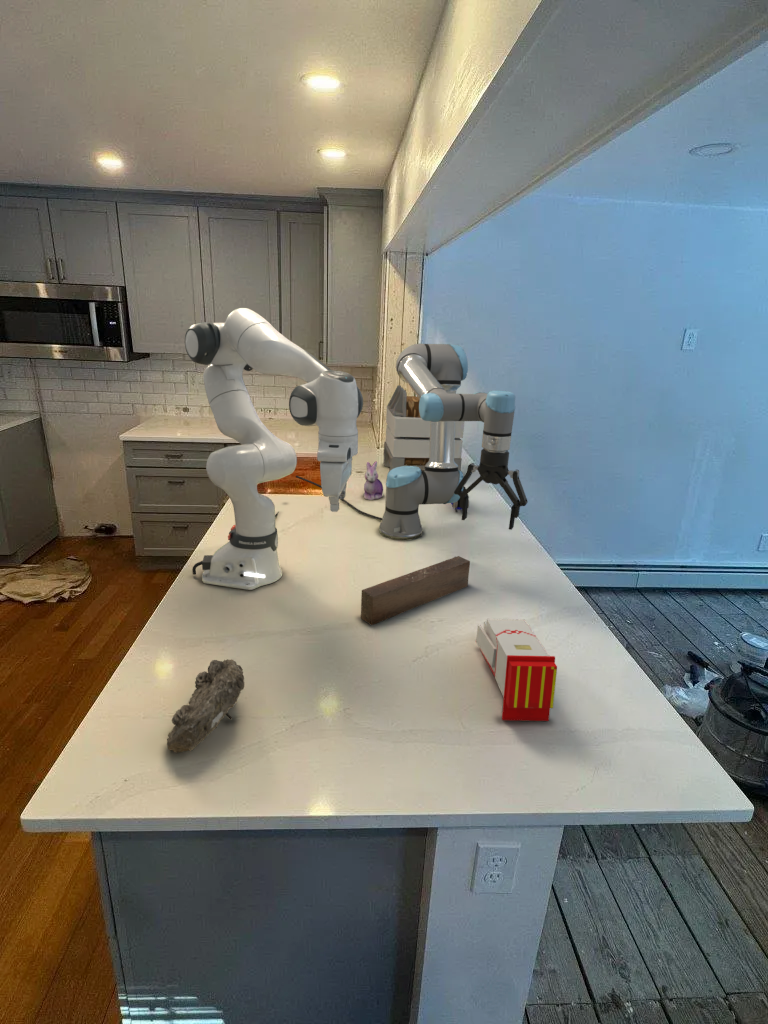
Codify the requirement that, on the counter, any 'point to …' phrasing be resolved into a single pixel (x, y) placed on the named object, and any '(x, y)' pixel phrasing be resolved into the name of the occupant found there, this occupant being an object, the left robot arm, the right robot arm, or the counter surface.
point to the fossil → (206, 705)
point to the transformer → (411, 433)
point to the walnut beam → (413, 589)
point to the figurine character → (458, 503)
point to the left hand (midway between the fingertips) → (338, 504)
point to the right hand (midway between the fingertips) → (487, 523)
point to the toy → (519, 668)
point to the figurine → (372, 483)
